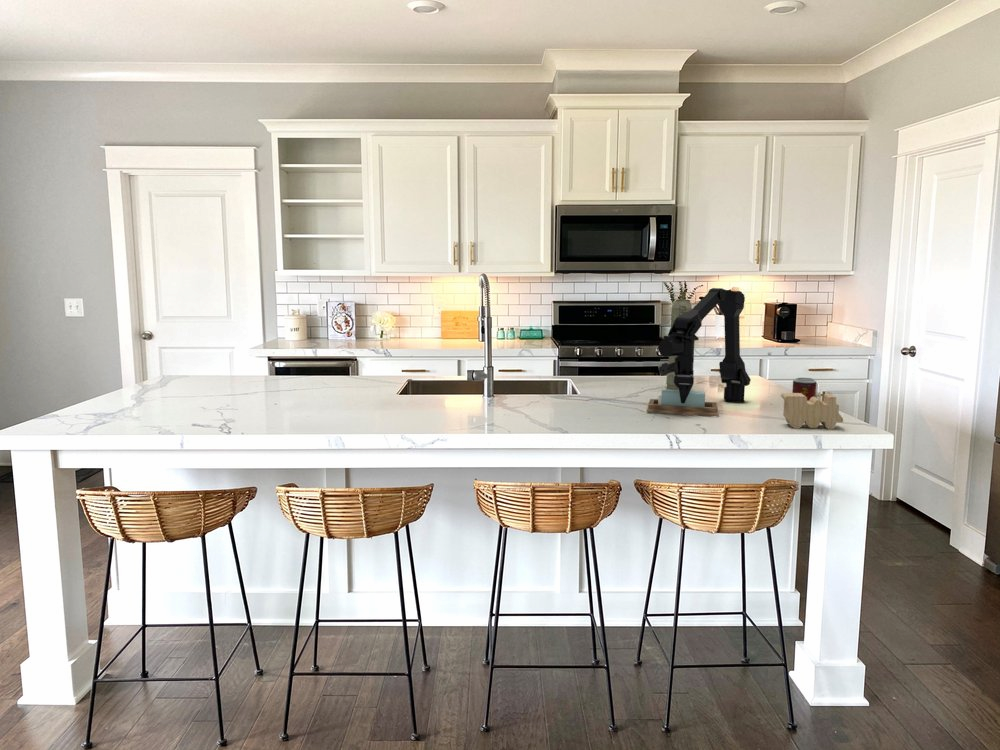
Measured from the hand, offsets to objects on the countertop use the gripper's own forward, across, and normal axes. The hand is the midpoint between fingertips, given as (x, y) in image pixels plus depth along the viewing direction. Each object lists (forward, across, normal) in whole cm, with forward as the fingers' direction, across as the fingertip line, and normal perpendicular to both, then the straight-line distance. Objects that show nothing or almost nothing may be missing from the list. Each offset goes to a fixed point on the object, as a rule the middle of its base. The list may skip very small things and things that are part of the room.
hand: (682, 400), depth 241 cm
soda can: (+4, -3, +38) cm, 38 cm away
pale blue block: (+2, 0, 0) cm, 2 cm away
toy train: (+4, +13, +38) cm, 40 cm away
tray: (+4, 0, 0) cm, 4 cm away
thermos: (+4, -38, -2) cm, 38 cm away
